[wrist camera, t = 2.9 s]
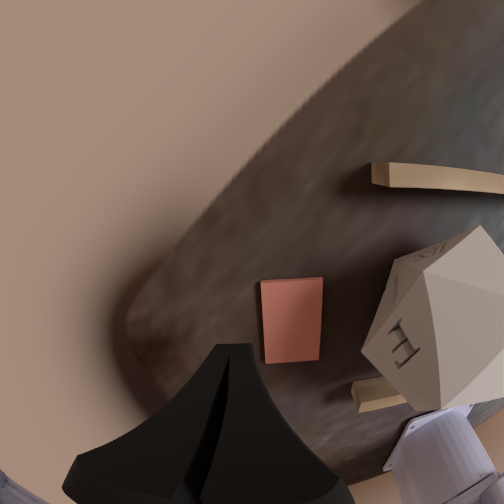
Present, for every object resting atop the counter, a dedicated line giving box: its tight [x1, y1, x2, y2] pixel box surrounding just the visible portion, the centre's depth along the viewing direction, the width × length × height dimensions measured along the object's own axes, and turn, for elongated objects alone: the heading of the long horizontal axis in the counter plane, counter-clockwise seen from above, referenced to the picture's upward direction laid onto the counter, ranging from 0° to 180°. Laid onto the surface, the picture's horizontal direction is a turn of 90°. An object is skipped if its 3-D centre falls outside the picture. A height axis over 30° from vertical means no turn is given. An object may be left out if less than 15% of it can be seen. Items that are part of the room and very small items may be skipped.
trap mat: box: [261, 277, 323, 364], centre depth 14 cm, size 5×3×1 cm, turn 4°
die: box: [361, 225, 504, 411], centre depth 10 cm, size 8×9×10 cm
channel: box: [351, 162, 504, 413], centre depth 12 cm, size 14×18×3 cm
